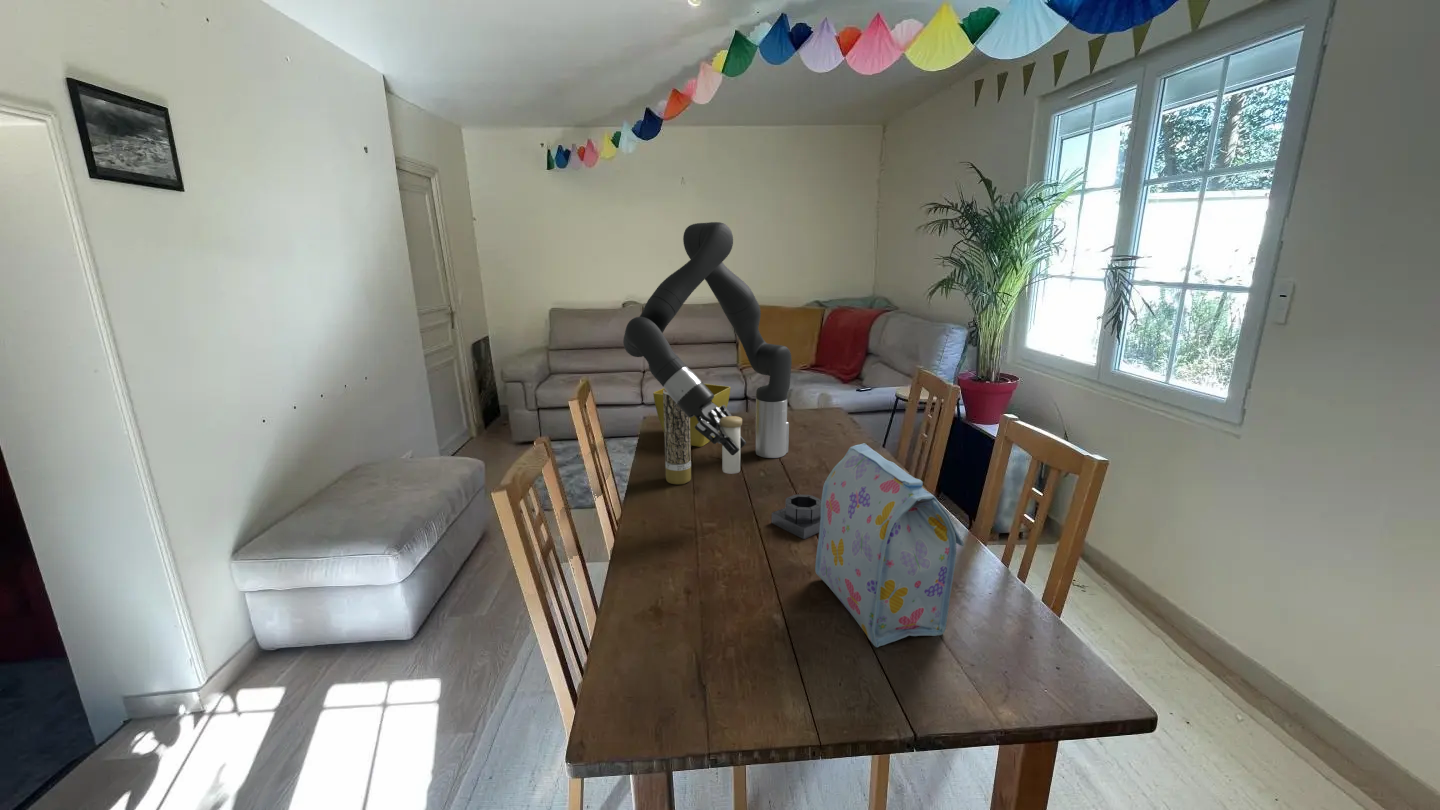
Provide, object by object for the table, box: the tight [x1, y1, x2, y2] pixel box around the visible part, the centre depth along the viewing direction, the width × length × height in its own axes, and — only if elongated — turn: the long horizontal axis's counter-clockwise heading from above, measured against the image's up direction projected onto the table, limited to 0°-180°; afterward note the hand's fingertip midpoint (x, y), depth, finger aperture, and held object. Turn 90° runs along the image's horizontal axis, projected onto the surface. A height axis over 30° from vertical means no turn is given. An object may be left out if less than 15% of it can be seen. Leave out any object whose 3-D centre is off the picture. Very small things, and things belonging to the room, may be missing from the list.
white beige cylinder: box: [720, 415, 743, 475], centre depth 130 cm, size 5×5×12 cm
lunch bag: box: [814, 442, 965, 648], centre depth 99 cm, size 22×17×26 cm
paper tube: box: [663, 389, 692, 485], centre depth 154 cm, size 7×7×25 cm
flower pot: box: [652, 383, 732, 447], centre depth 189 cm, size 19×19×17 cm
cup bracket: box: [771, 494, 822, 540], centre depth 131 cm, size 10×10×6 cm
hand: (739, 449), depth 129 cm, fingers closed on white beige cylinder, 4 cm apart
